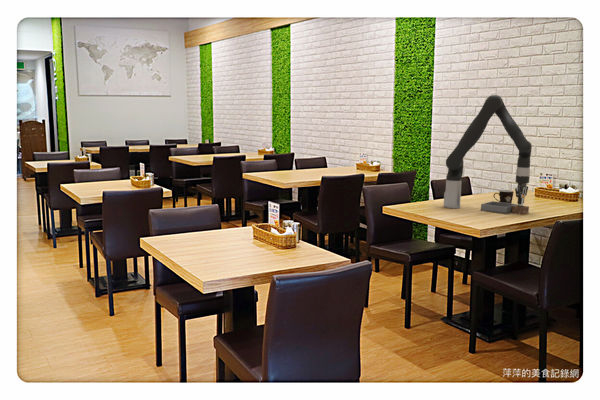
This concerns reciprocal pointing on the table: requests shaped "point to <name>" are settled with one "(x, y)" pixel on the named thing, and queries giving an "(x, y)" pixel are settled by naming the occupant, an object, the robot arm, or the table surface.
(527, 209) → the pin block
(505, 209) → the tray
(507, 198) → the coffee mug
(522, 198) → the stop pin
